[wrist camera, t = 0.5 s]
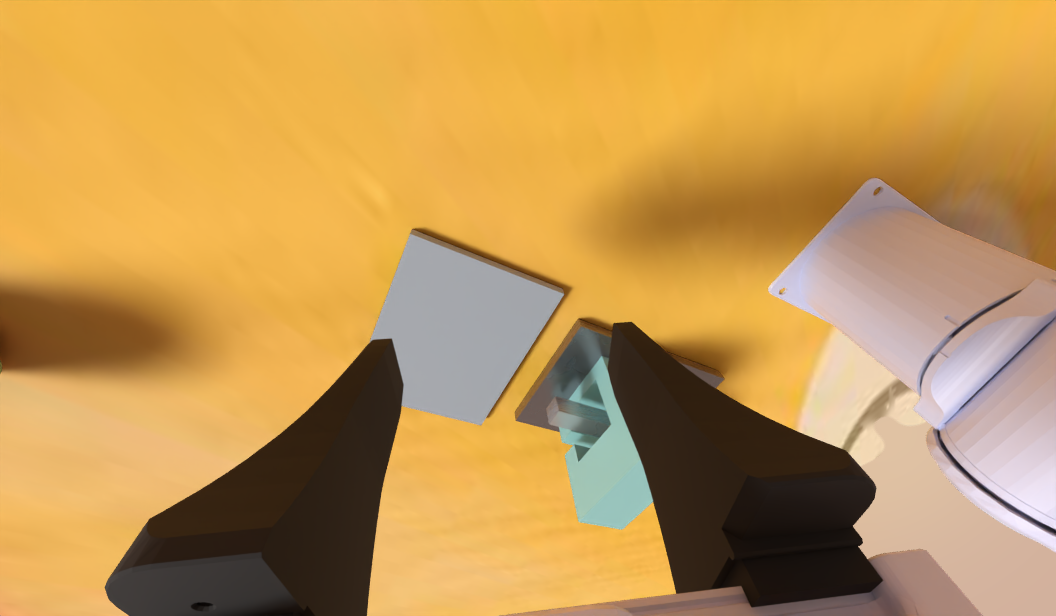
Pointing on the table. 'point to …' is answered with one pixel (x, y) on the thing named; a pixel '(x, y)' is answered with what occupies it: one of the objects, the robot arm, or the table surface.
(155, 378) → the table surface
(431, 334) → the mat
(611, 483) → the c link
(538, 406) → the stand
